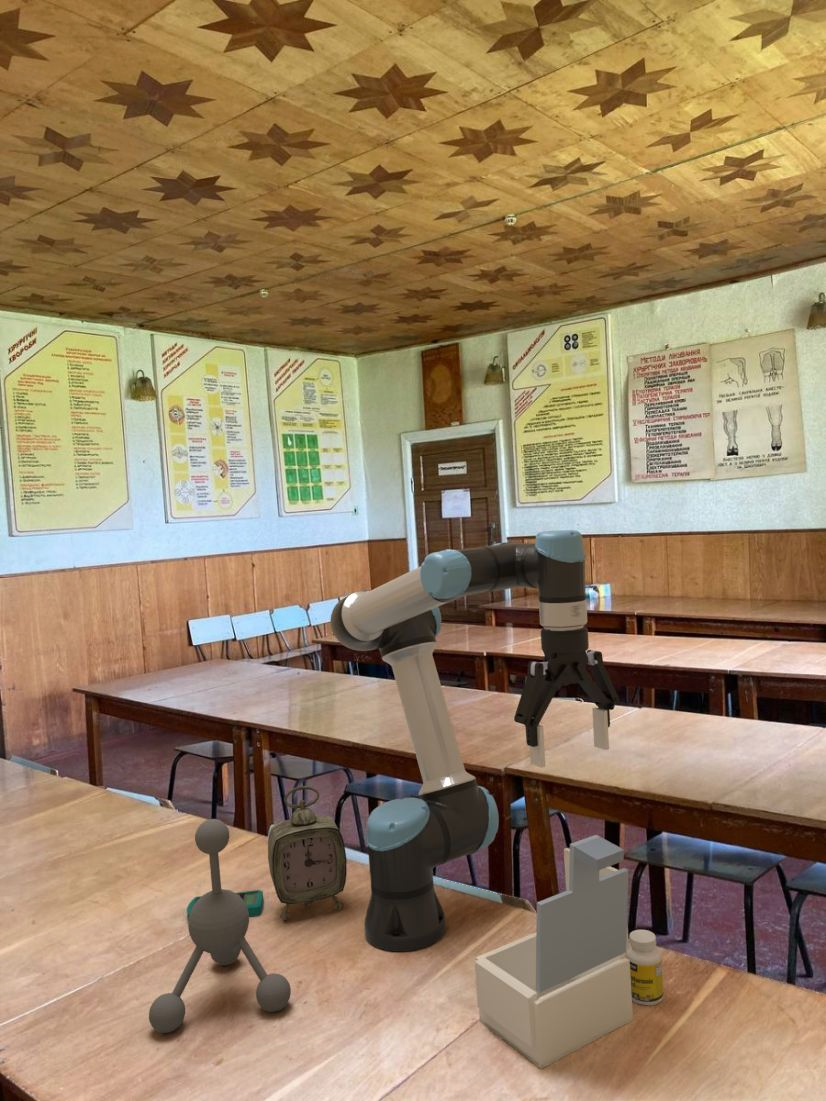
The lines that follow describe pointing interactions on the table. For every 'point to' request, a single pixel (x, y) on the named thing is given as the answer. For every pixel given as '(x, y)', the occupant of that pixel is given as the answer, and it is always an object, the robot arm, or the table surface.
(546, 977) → the flap
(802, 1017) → the table surface
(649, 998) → the supplement bottle
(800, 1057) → the table surface
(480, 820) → the robot arm
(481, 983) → the carton
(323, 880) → the tabletop clock
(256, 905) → the digital multimeter
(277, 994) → the molecular model
